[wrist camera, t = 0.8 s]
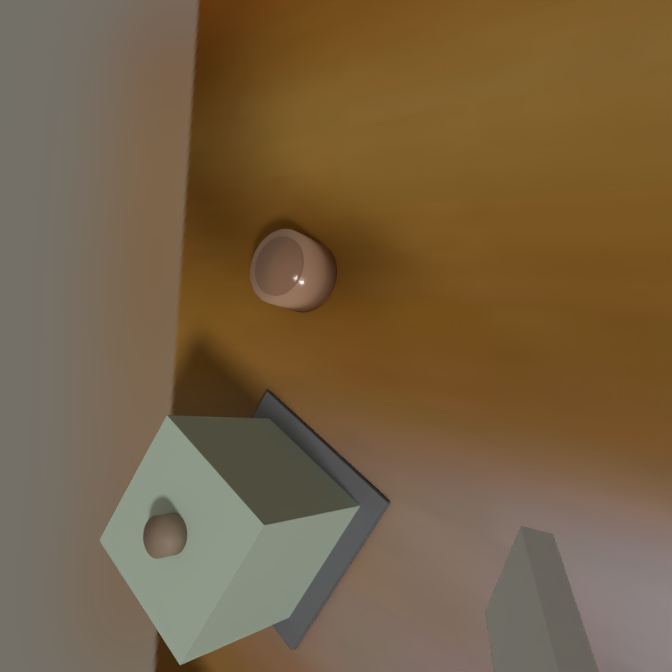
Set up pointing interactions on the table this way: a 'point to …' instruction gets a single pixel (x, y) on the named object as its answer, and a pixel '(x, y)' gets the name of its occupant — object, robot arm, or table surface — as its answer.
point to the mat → (354, 533)
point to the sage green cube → (223, 529)
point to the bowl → (293, 271)
